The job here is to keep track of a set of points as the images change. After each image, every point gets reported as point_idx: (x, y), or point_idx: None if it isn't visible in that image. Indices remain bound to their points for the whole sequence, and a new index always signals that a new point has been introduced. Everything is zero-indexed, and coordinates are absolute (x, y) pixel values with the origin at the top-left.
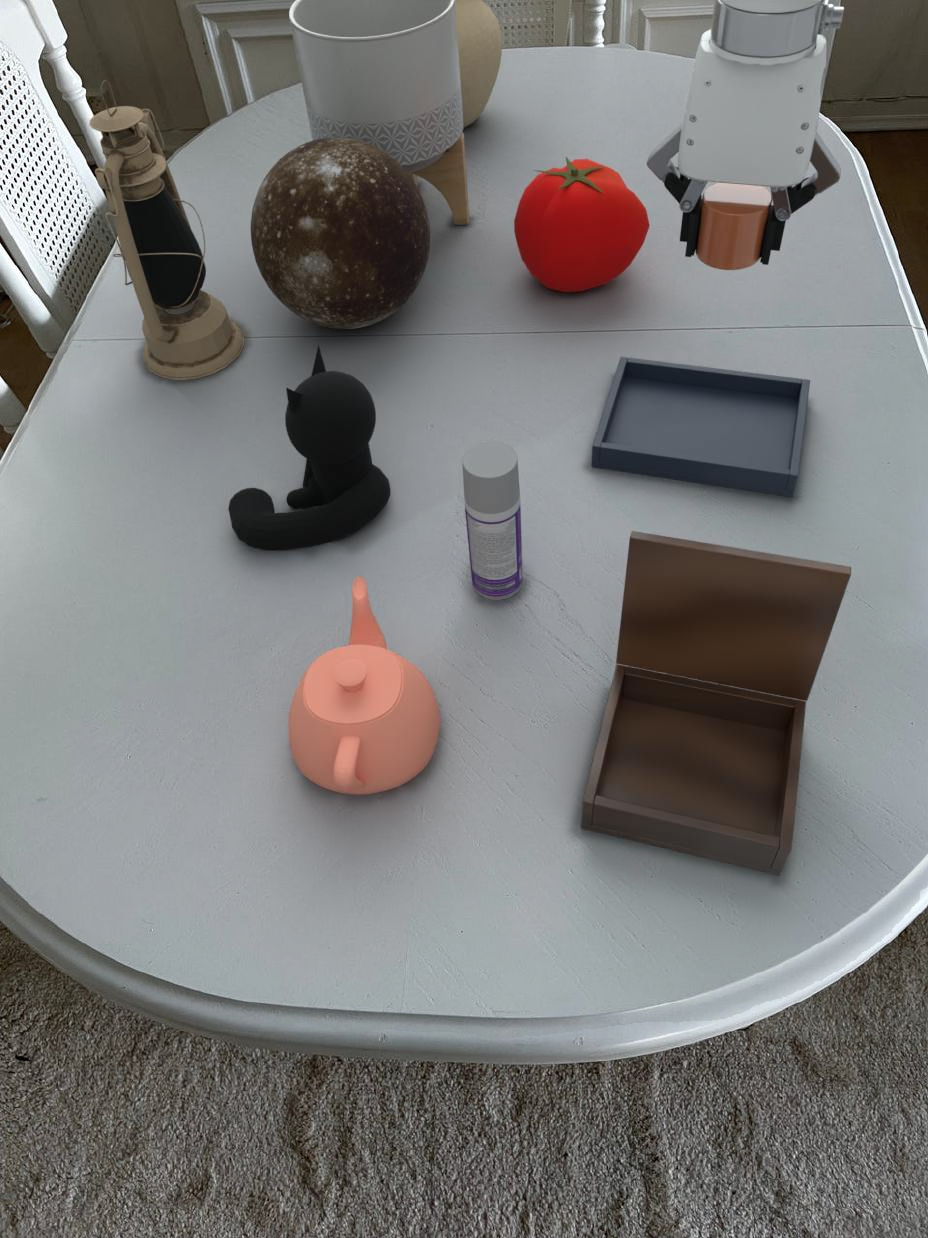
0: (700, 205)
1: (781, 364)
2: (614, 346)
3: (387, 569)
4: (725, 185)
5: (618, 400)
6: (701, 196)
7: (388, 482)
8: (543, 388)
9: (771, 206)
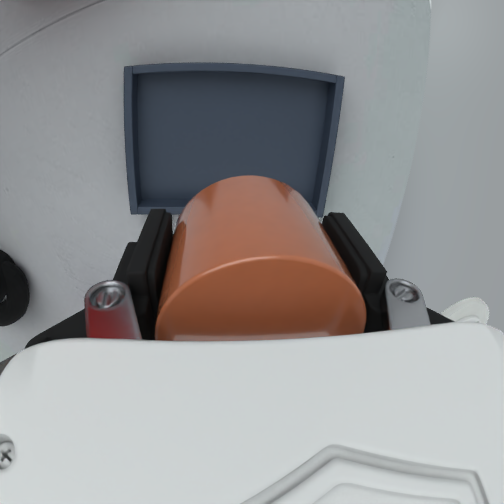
0: (155, 310)
1: (311, 18)
2: (119, 18)
3: (58, 314)
4: (218, 302)
5: (137, 114)
6: (145, 279)
7: (18, 276)
8: (64, 108)
9: (360, 284)
